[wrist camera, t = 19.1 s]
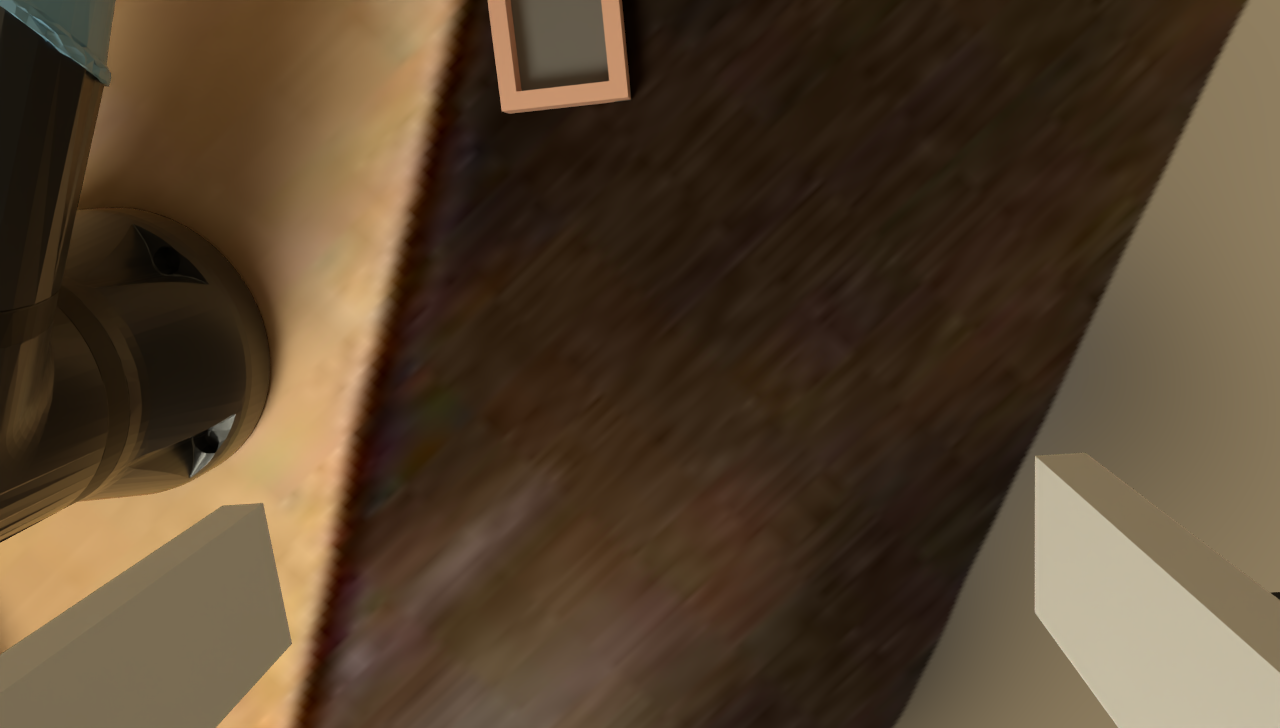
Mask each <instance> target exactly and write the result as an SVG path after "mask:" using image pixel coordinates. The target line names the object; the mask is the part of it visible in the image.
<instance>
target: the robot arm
mask: <svg viewBox="0 0 1280 728" xmlns="http://www.w3.org/2000/svg"><path fill="white" fill-rule="evenodd" d="M115 1H116V0H0V542H2V541H4V540H6V539H8V538H10V537H12V536H14V535H15V534H17V533H19V532H21V531H23V530H25V529H27V528H29V527H30V526H32V525H34V524H36V523H38V522H40V521H42V520H43V519H45V518H47V517H49V516H51V515H53V514H55V513H57V512H58V511H60V510H62V509H64V508H66V507H68V506H70V505H72V504H74V503H76V502H80V501H89V500H99V499H109V498H119V497H129V496H139V495H148V494H154V493H159V492H163V491H167V490H170V489H173V488H176V487H178V486H181V485H184V484H186V483H188V482H190V481H192V480H194V479H195V478H197V477H199V476H201V475H202V474H204V473H206V472H208V471H209V470H211V469H213V468H215V467H216V466H218V465H220V464H221V463H222V462H224V461H225V460H227V459H228V458H229V457H230V456H232V455H233V454H234V453H235V452H236V451H237V450H238V449H239V448H240V447H241V446H242V444H243V443H244V442H245V441H246V440H247V438H248V437H249V435H250V434H251V432H252V431H253V429H254V427H255V426H256V424H257V422H258V420H259V418H260V415H261V413H262V410H263V407H264V404H265V401H266V397H267V392H268V386H269V378H270V355H269V346H268V340H267V335H266V331H265V327H264V324H263V320H262V317H261V315H260V312H259V310H258V307H257V305H256V303H255V301H254V298H253V296H252V295H251V293H250V291H249V289H248V287H247V286H246V284H245V283H244V281H243V280H242V278H241V277H240V275H239V274H238V273H237V271H236V270H235V269H234V267H233V266H232V265H231V264H230V263H229V261H228V260H227V259H226V258H225V257H224V256H223V255H222V254H221V253H220V252H219V251H218V250H217V249H216V248H215V247H213V246H212V245H211V244H210V243H209V242H207V241H206V240H205V239H204V238H202V237H201V236H199V235H198V234H197V233H195V232H194V231H192V230H190V229H189V228H187V227H185V226H184V225H182V224H180V223H178V222H176V221H174V220H171V219H169V218H166V217H164V216H161V215H158V214H155V213H151V212H148V211H144V210H138V209H132V208H115V207H112V208H95V209H79V210H77V207H78V202H79V198H80V193H81V189H82V184H83V180H84V175H85V170H86V166H87V161H88V157H89V152H90V148H91V143H92V138H93V134H94V129H95V125H96V120H97V116H98V111H99V107H100V102H101V97H102V93H103V88H104V86H109V85H110V81H111V73H110V71H109V69H108V67H107V58H108V49H109V41H110V34H111V27H112V21H113V14H114V7H115ZM1035 613H1036V615H1037V616H1038V618H1039V619H1040V620H1041V622H1042V623H1043V624H1044V626H1045V627H1046V628H1047V630H1048V631H1049V633H1050V634H1051V636H1052V637H1053V638H1054V640H1055V641H1056V642H1057V644H1058V645H1059V646H1060V648H1061V649H1062V651H1063V652H1064V653H1065V655H1066V656H1067V658H1068V659H1069V660H1070V662H1071V663H1072V664H1073V666H1074V667H1075V669H1076V670H1077V671H1078V673H1079V674H1080V675H1081V677H1082V678H1083V680H1084V681H1085V682H1086V684H1087V685H1088V687H1089V688H1090V689H1091V691H1092V692H1093V694H1094V695H1095V696H1096V697H1097V699H1098V700H1099V702H1100V703H1101V704H1102V706H1103V707H1104V709H1105V710H1106V711H1107V713H1108V714H1109V716H1110V717H1111V718H1112V720H1113V721H1114V723H1115V724H1116V725H1117V727H1118V728H1280V592H1274V593H1270V592H1268V591H1267V590H1266V589H1265V588H1263V587H1262V586H1261V585H1259V584H1258V583H1257V582H1255V581H1254V580H1253V579H1251V578H1250V577H1249V576H1247V575H1246V574H1245V573H1243V572H1242V571H1241V570H1239V569H1238V568H1237V567H1235V566H1234V565H1233V564H1231V563H1230V562H1229V561H1228V560H1226V559H1225V558H1224V557H1222V556H1221V555H1220V554H1218V553H1217V552H1216V551H1214V550H1213V549H1212V548H1210V547H1209V546H1208V545H1206V544H1205V543H1204V542H1202V541H1201V540H1200V539H1199V538H1197V537H1196V536H1194V535H1193V534H1192V533H1191V532H1189V531H1188V530H1187V529H1185V528H1184V527H1182V526H1181V525H1180V524H1179V523H1177V522H1176V521H1175V520H1173V519H1172V518H1171V517H1170V516H1168V515H1167V514H1166V513H1164V512H1163V511H1162V510H1160V509H1159V508H1157V507H1156V506H1155V505H1154V504H1152V503H1151V502H1150V501H1148V500H1147V499H1146V498H1144V497H1143V496H1142V495H1140V494H1139V493H1138V492H1136V491H1135V490H1134V489H1132V488H1131V487H1130V486H1129V485H1127V484H1126V483H1125V482H1123V481H1122V480H1121V479H1119V478H1118V477H1117V476H1115V475H1114V474H1113V473H1111V472H1110V471H1109V470H1107V469H1106V468H1105V467H1103V466H1102V465H1101V464H1100V463H1098V462H1097V461H1096V460H1094V459H1093V458H1092V457H1090V456H1089V455H1088V454H1086V453H1073V454H1056V455H1040V456H1035ZM291 644H292V642H291V637H290V632H289V627H288V622H287V617H286V612H285V608H284V603H283V598H282V593H281V588H280V583H279V578H278V574H277V569H276V564H275V559H274V554H273V549H272V544H271V540H270V535H269V530H268V525H267V520H266V515H265V510H264V506H263V503H259V504H243V505H227V506H221V507H220V508H218V509H217V510H215V511H214V512H212V513H211V514H209V515H208V516H206V517H205V518H203V519H202V520H201V521H199V522H198V523H196V524H195V525H193V526H192V527H190V528H189V529H187V530H186V531H184V532H183V533H181V534H180V535H178V536H177V537H175V538H174V539H172V540H171V541H169V542H168V543H166V544H165V545H163V546H162V547H160V548H159V549H157V550H156V551H154V552H153V553H151V554H150V555H148V556H147V557H145V558H144V559H142V560H141V561H139V562H138V563H136V564H135V565H133V566H132V567H130V568H129V569H127V570H126V571H124V572H123V573H121V574H120V575H118V576H117V577H115V578H114V579H112V580H111V581H109V582H108V583H106V584H105V585H103V586H102V587H100V588H99V589H97V590H96V591H94V592H93V593H91V594H90V595H88V596H87V597H85V598H84V599H82V600H81V601H79V602H78V603H77V604H75V605H74V606H72V607H71V608H69V609H68V610H66V611H65V612H63V613H62V614H60V615H59V616H57V617H56V618H54V619H53V620H51V621H50V622H48V623H47V624H45V625H44V626H42V627H41V628H39V629H38V630H36V631H35V632H33V633H32V634H30V635H29V636H27V637H26V638H24V639H23V640H21V641H20V642H18V643H17V644H15V645H14V646H12V647H11V648H9V649H8V650H6V651H5V652H3V653H2V654H0V728H216V727H217V726H218V724H219V723H220V722H221V721H222V720H223V719H224V718H225V717H226V716H227V715H228V713H229V712H230V711H231V710H232V709H233V708H234V707H235V706H236V705H237V704H238V702H239V701H240V700H241V699H242V698H243V697H244V696H245V695H246V694H247V693H248V691H249V690H250V689H251V688H252V687H253V686H254V685H255V684H256V683H257V681H258V680H259V679H260V678H261V677H262V676H263V675H264V674H265V673H266V672H267V670H268V669H269V668H270V667H271V666H272V665H273V664H274V663H275V662H276V661H277V659H278V658H279V657H280V656H281V655H282V654H283V653H284V652H285V651H286V650H287V648H288V647H289V646H290V645H291Z"/></svg>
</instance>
